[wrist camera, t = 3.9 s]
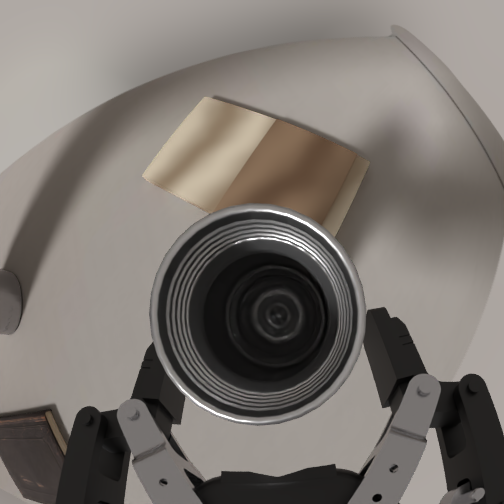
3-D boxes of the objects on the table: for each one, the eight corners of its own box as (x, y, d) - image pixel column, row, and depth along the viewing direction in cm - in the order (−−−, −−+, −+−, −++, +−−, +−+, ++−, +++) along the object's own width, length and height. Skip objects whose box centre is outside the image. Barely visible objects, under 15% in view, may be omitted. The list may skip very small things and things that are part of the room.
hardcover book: (110, 508, 20) (101, 516, 18) (31, 494, 20) (23, 497, 18) (53, 408, 24) (42, 411, 22) (-8, 417, 24) (-16, 419, 22)
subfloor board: (146, 180, 28) (141, 174, 27) (207, 102, 30) (204, 95, 29) (316, 271, 24) (318, 268, 23) (367, 167, 26) (370, 160, 24)
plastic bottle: (305, 269, 24) (367, 106, 5) (323, 344, 23) (459, 430, 3) (233, 286, 25) (79, 185, 5) (250, 361, 23) (135, 493, 4)
